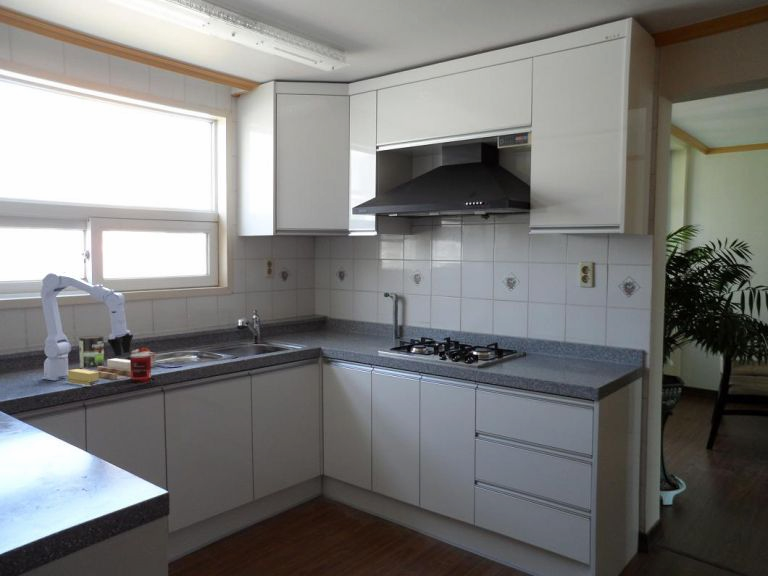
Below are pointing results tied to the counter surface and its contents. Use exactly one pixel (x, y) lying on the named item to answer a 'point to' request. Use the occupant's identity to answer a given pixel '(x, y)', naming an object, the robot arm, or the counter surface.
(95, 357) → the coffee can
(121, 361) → the white bar
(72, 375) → the pale yellow bar
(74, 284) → the robot arm
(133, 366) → the canned food
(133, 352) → the food item
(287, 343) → the counter surface
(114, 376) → the slot board
